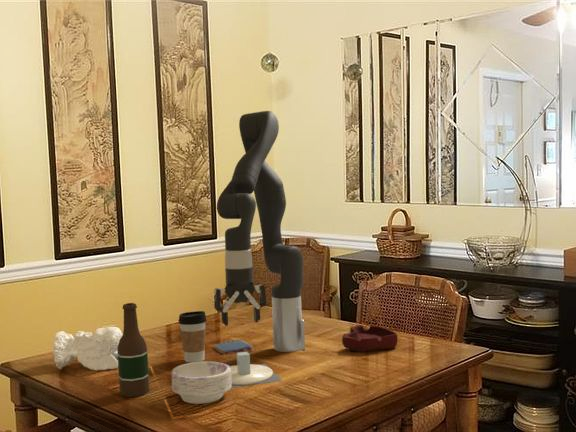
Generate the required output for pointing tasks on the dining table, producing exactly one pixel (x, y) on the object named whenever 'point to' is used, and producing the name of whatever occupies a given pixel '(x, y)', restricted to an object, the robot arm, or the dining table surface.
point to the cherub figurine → (88, 348)
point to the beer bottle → (132, 357)
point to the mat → (272, 379)
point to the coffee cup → (193, 335)
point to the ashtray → (369, 338)
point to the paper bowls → (201, 381)
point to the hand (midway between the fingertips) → (241, 323)
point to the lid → (248, 371)
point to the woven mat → (233, 347)
